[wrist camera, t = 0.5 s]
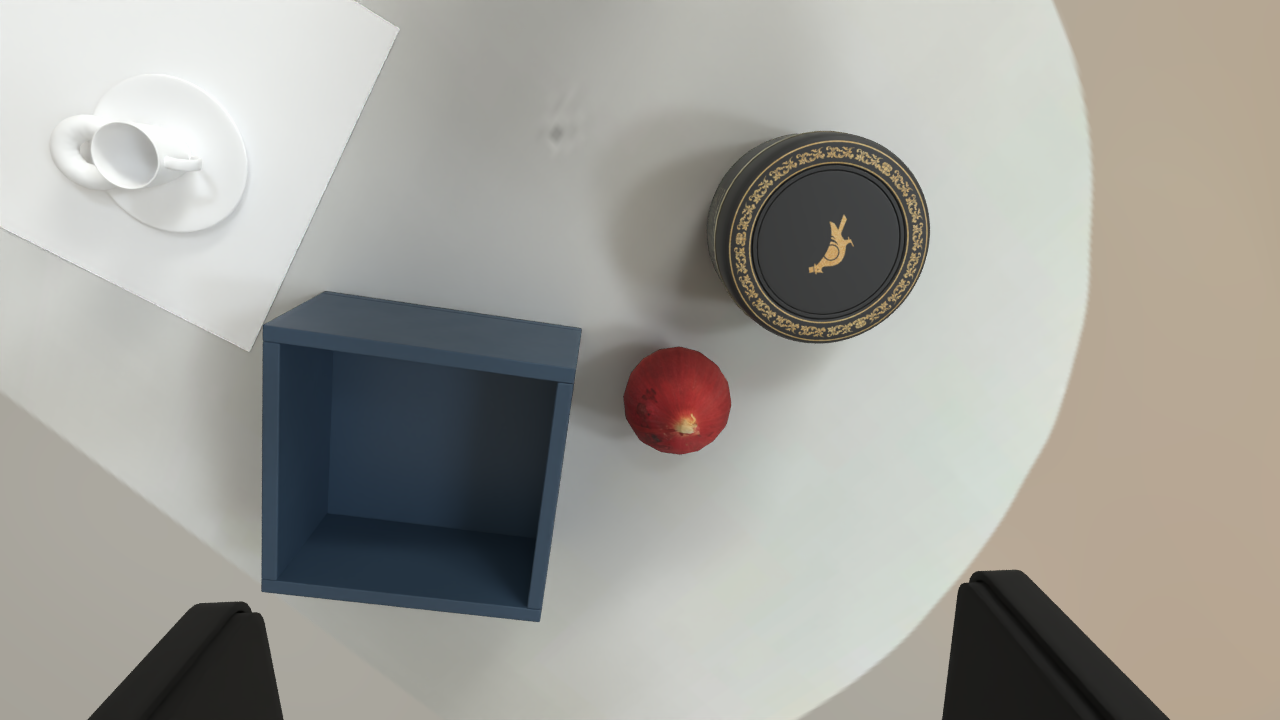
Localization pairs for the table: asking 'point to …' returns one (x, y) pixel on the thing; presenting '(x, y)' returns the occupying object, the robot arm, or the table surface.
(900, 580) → the table surface
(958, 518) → the table surface
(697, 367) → the pomegranate
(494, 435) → the bin
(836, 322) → the jar
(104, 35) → the teacup and saucer
